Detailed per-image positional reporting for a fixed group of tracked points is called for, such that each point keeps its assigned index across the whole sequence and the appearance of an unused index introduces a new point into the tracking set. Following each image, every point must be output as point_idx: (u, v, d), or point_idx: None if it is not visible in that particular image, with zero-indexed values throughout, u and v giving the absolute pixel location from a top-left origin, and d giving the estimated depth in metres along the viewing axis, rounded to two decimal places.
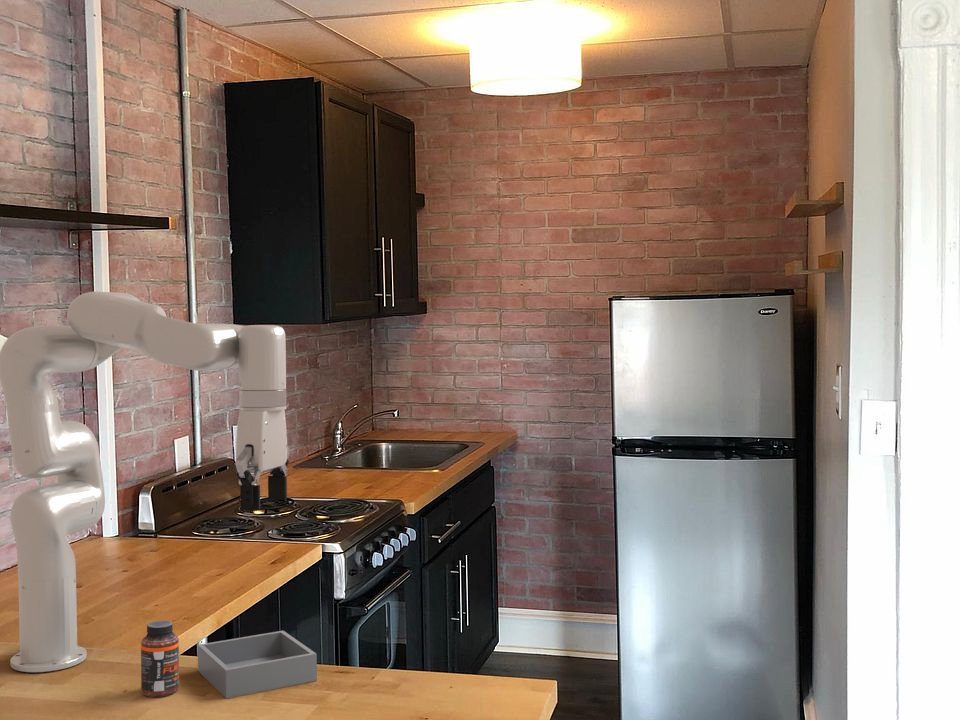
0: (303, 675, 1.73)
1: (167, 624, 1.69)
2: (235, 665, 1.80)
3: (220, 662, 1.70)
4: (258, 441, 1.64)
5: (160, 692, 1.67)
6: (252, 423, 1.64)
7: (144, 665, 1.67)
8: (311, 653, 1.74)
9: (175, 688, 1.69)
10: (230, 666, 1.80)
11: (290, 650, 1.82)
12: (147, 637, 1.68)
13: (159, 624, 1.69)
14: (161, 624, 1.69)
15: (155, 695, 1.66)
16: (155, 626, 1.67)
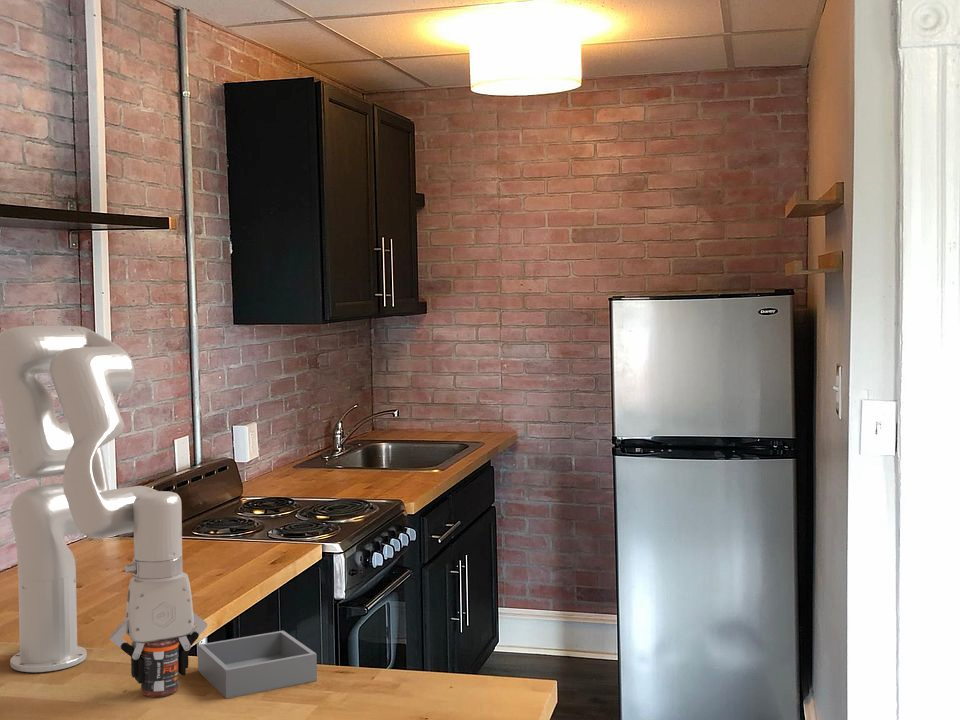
0: (303, 675, 1.73)
1: None
2: (235, 665, 1.80)
3: (220, 662, 1.70)
4: None
5: (160, 692, 1.67)
6: None
7: (144, 665, 1.67)
8: (311, 653, 1.74)
9: (175, 688, 1.69)
10: (230, 666, 1.80)
11: (290, 650, 1.82)
12: None
13: None
14: None
15: (155, 695, 1.66)
16: None
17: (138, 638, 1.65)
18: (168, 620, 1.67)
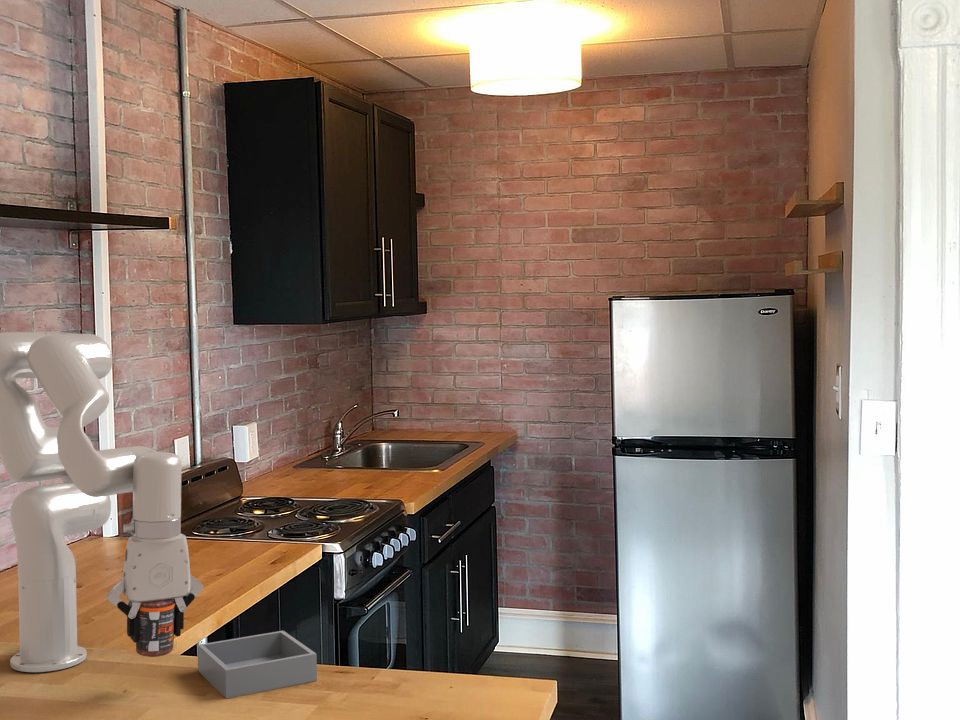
0: (303, 675, 1.73)
1: None
2: (235, 665, 1.80)
3: (220, 662, 1.70)
4: None
5: (155, 652, 1.67)
6: None
7: (139, 624, 1.67)
8: (311, 653, 1.74)
9: (170, 648, 1.69)
10: (230, 666, 1.80)
11: (290, 650, 1.82)
12: None
13: None
14: None
15: (149, 655, 1.67)
16: None
17: (134, 597, 1.65)
18: (164, 580, 1.67)
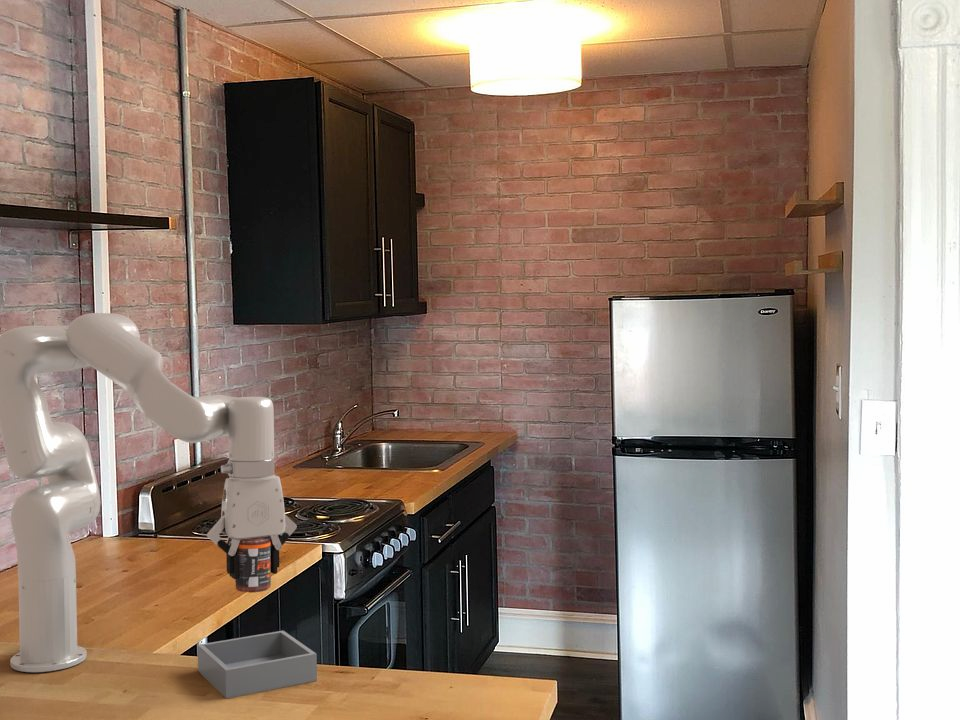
0: (303, 675, 1.73)
1: None
2: (235, 665, 1.80)
3: (220, 662, 1.70)
4: None
5: (254, 588, 1.73)
6: None
7: (239, 561, 1.74)
8: (311, 653, 1.74)
9: (268, 585, 1.75)
10: (230, 666, 1.80)
11: (290, 650, 1.82)
12: None
13: None
14: None
15: (250, 590, 1.73)
16: None
17: (234, 534, 1.71)
18: (261, 518, 1.74)
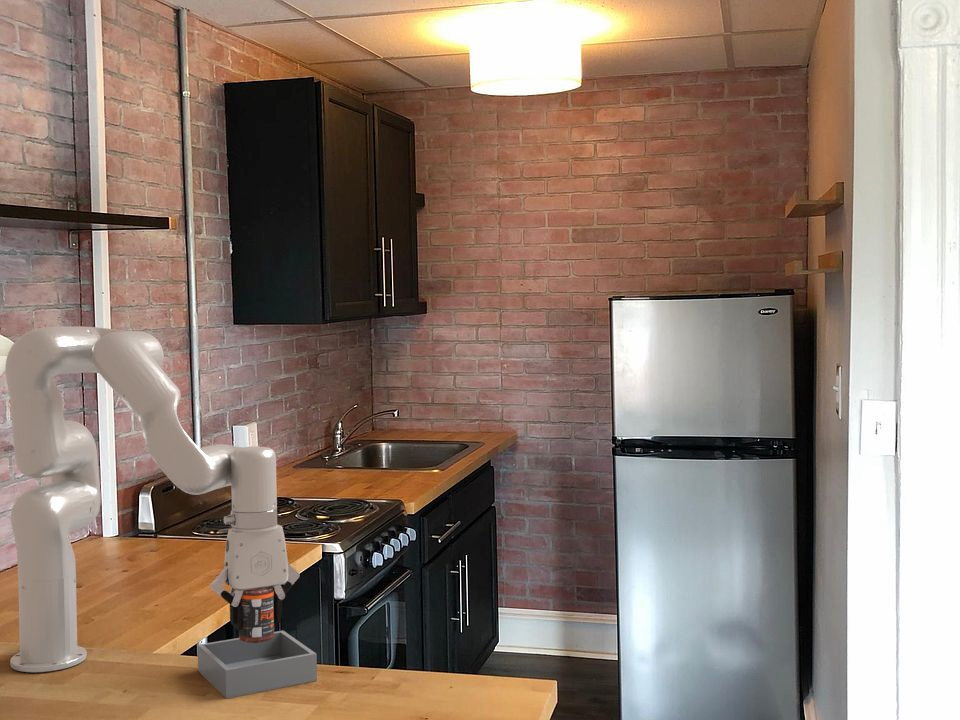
0: (303, 675, 1.73)
1: None
2: (235, 665, 1.80)
3: (220, 662, 1.70)
4: None
5: (258, 638, 1.74)
6: None
7: (242, 612, 1.74)
8: (311, 653, 1.74)
9: (272, 634, 1.76)
10: (230, 666, 1.80)
11: (290, 650, 1.82)
12: None
13: None
14: None
15: (253, 641, 1.74)
16: None
17: (238, 586, 1.72)
18: (264, 569, 1.74)
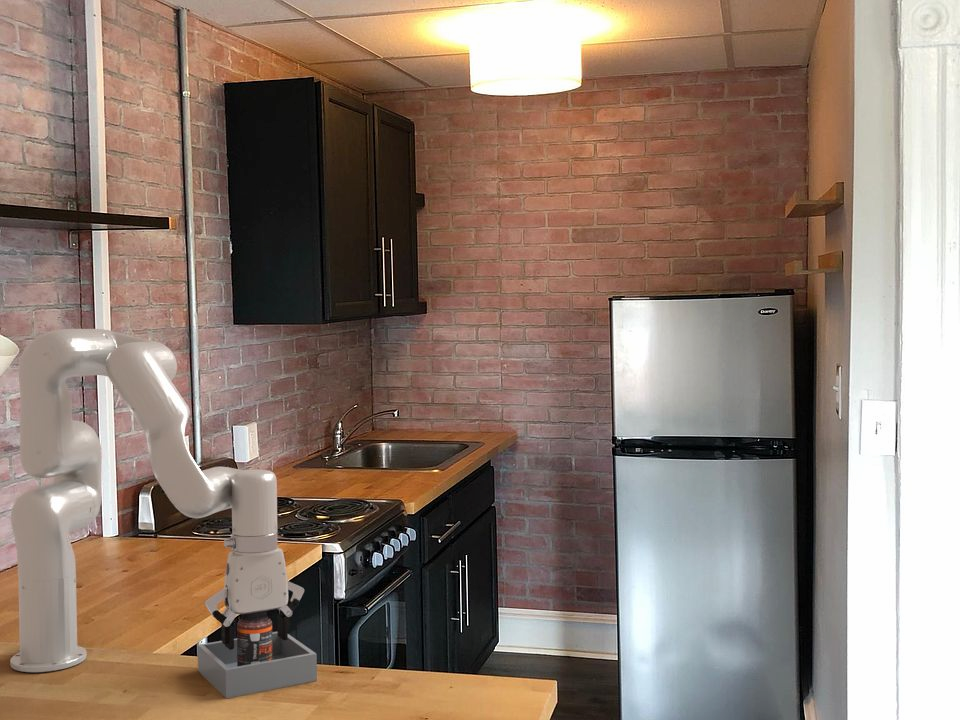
0: (303, 675, 1.73)
1: None
2: (235, 665, 1.80)
3: (220, 662, 1.70)
4: None
5: None
6: None
7: (241, 646, 1.74)
8: (311, 653, 1.74)
9: None
10: (230, 666, 1.80)
11: (290, 650, 1.82)
12: (243, 620, 1.75)
13: None
14: None
15: None
16: None
17: (238, 609, 1.72)
18: (265, 592, 1.74)
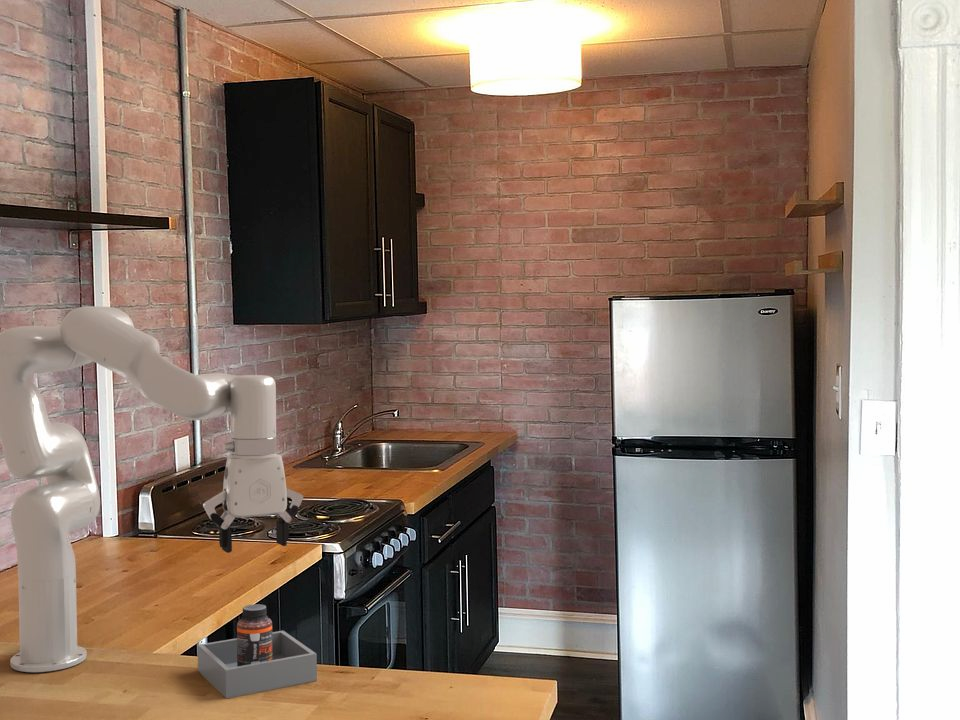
0: (303, 675, 1.73)
1: (262, 607, 1.76)
2: (235, 665, 1.80)
3: (220, 662, 1.70)
4: None
5: None
6: None
7: (241, 646, 1.74)
8: (311, 653, 1.74)
9: None
10: (230, 666, 1.80)
11: (290, 650, 1.82)
12: (243, 620, 1.75)
13: (254, 607, 1.76)
14: (256, 607, 1.76)
15: None
16: (251, 609, 1.75)
17: (236, 512, 1.71)
18: (263, 496, 1.74)
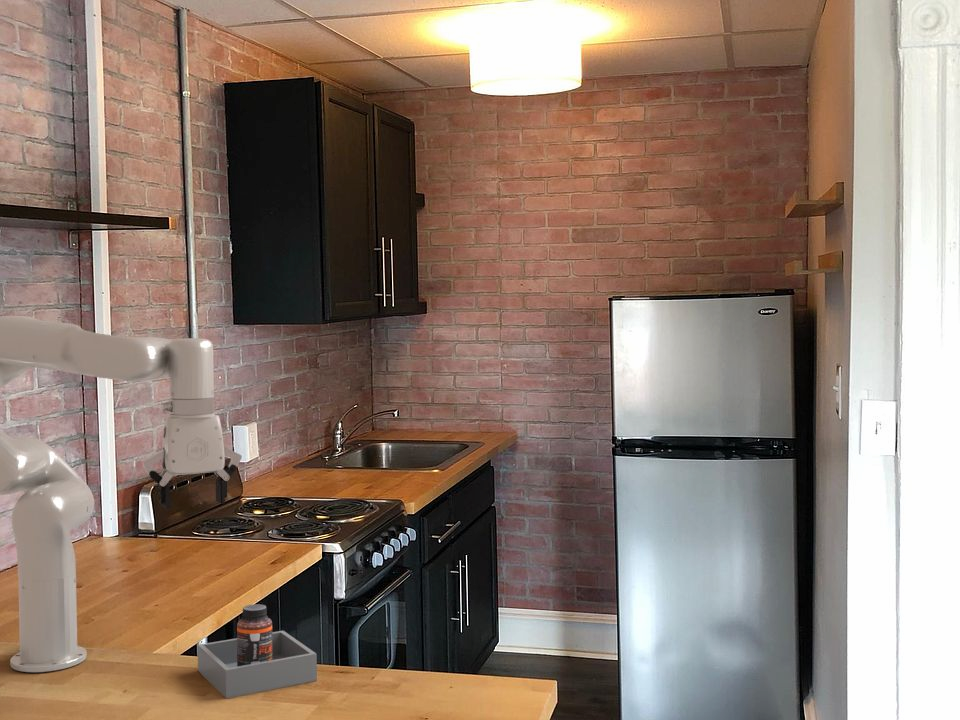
0: (303, 675, 1.73)
1: (262, 607, 1.76)
2: (235, 665, 1.80)
3: (220, 662, 1.70)
4: None
5: None
6: None
7: (241, 646, 1.74)
8: (311, 653, 1.74)
9: None
10: (230, 666, 1.80)
11: (290, 650, 1.82)
12: (243, 620, 1.75)
13: (254, 607, 1.76)
14: (256, 607, 1.76)
15: None
16: (251, 609, 1.75)
17: (174, 469, 1.78)
18: (201, 455, 1.80)
